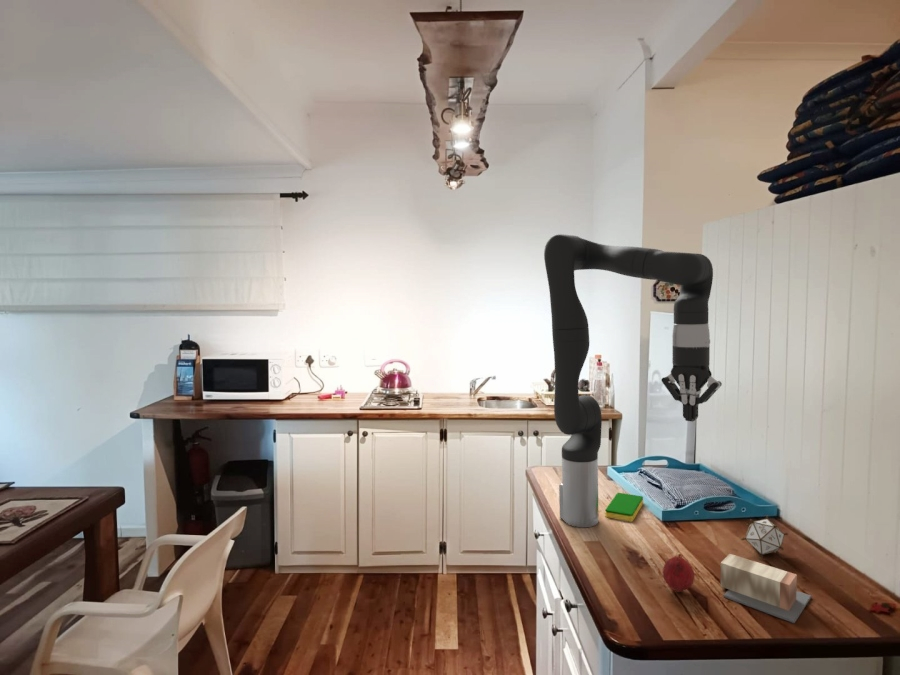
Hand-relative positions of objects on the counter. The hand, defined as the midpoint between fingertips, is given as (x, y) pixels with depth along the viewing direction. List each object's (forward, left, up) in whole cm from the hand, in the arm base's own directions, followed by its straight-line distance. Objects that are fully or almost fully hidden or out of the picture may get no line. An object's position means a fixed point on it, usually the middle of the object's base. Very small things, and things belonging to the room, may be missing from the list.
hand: (690, 420), depth 119 cm
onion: (+5, -17, -31) cm, 36 cm away
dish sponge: (-23, +12, -32) cm, 41 cm away
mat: (+18, -8, -31) cm, 37 cm away
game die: (+12, +11, -31) cm, 35 cm away
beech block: (+10, -8, -28) cm, 31 cm away
